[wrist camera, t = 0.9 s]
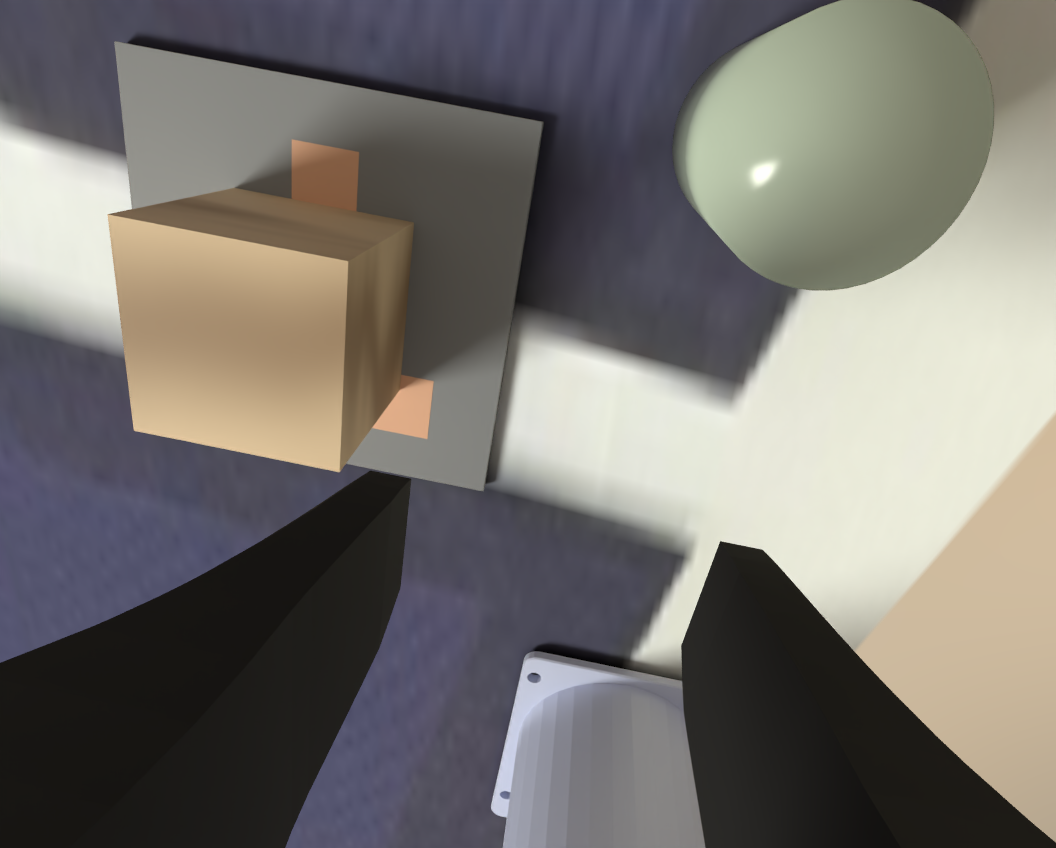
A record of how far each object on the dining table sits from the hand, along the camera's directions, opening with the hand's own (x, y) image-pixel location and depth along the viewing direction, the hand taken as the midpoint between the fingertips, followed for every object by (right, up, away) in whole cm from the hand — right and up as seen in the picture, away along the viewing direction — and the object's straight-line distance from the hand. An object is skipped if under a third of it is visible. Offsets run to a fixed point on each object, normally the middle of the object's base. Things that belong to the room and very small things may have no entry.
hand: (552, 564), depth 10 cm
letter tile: (-6, +6, +9) cm, 13 cm away
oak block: (-6, +6, +9) cm, 12 cm away
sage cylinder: (+6, +9, +7) cm, 13 cm away
